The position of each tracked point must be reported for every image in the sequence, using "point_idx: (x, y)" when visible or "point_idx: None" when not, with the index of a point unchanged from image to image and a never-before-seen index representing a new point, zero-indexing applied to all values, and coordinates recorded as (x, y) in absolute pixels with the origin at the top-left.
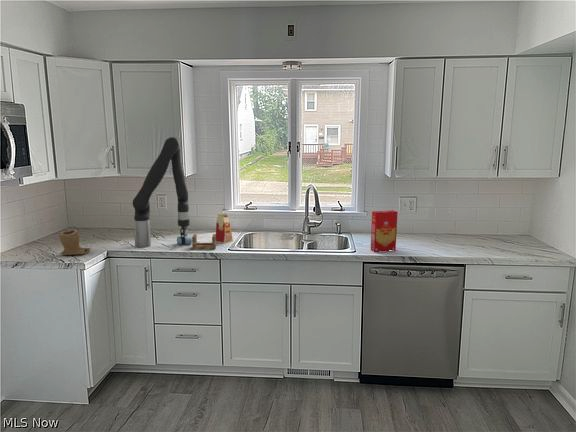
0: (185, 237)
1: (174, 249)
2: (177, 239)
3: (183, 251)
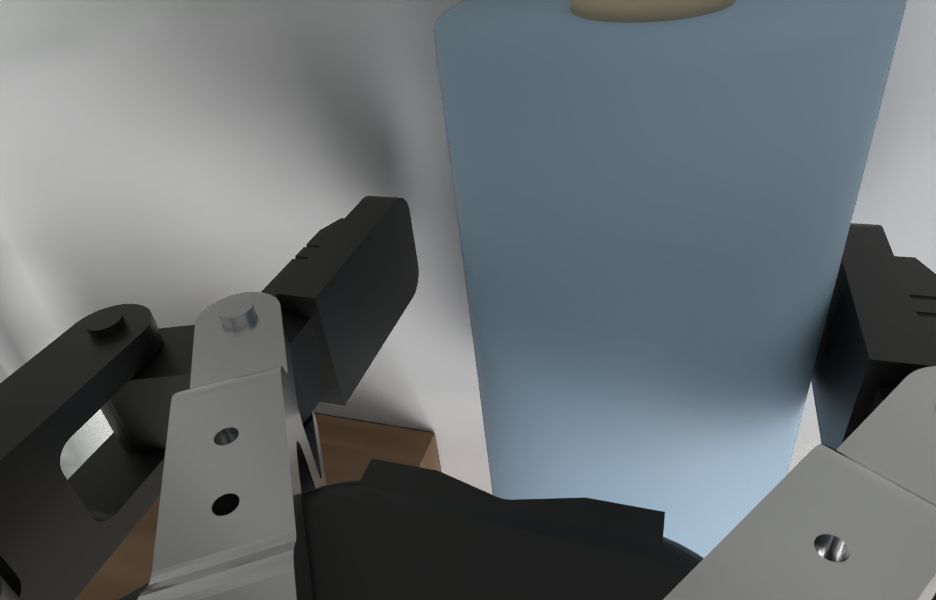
0: (522, 426)
1: (41, 4)
2: (442, 69)
3: (6, 244)
